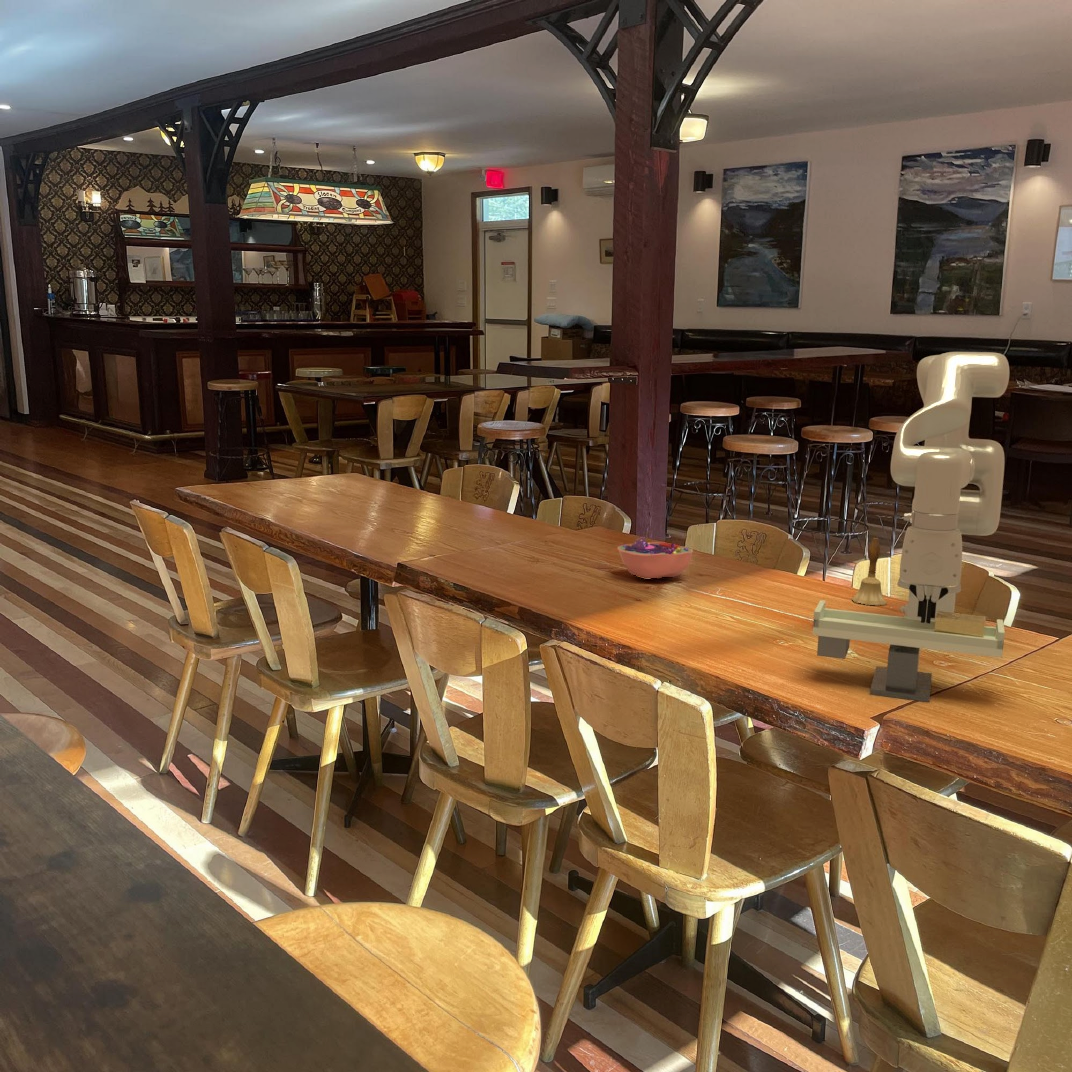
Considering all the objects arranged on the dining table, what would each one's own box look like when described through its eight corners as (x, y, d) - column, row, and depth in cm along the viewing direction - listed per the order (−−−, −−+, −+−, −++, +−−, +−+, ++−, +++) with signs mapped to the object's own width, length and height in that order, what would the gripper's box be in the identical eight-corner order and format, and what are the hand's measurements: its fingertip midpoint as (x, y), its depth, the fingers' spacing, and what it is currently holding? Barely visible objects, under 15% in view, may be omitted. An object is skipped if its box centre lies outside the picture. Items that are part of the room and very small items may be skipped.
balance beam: (811, 655, 187) (814, 611, 185) (817, 642, 195) (820, 600, 193) (999, 679, 175) (1004, 632, 173) (997, 664, 183) (1002, 619, 181)
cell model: (696, 587, 259) (698, 544, 257) (618, 585, 259) (619, 542, 257) (687, 572, 275) (689, 531, 273) (614, 570, 276) (616, 530, 273)
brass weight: (933, 638, 179) (935, 617, 178) (935, 631, 184) (937, 610, 183) (982, 645, 176) (984, 623, 175) (983, 638, 180) (985, 616, 179)
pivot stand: (870, 694, 181) (873, 651, 180) (875, 671, 194) (879, 631, 192) (929, 702, 177) (933, 658, 176) (931, 678, 190) (935, 637, 189)
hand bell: (879, 597, 250) (884, 534, 247) (892, 606, 242) (897, 541, 239) (846, 597, 250) (851, 534, 247) (858, 606, 242) (863, 541, 239)
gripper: (888, 521, 178) (880, 621, 181) (980, 528, 172) (970, 631, 176) (891, 515, 185) (884, 611, 188) (980, 521, 179) (970, 621, 182)
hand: (925, 621), depth 182 cm, fingers closed
